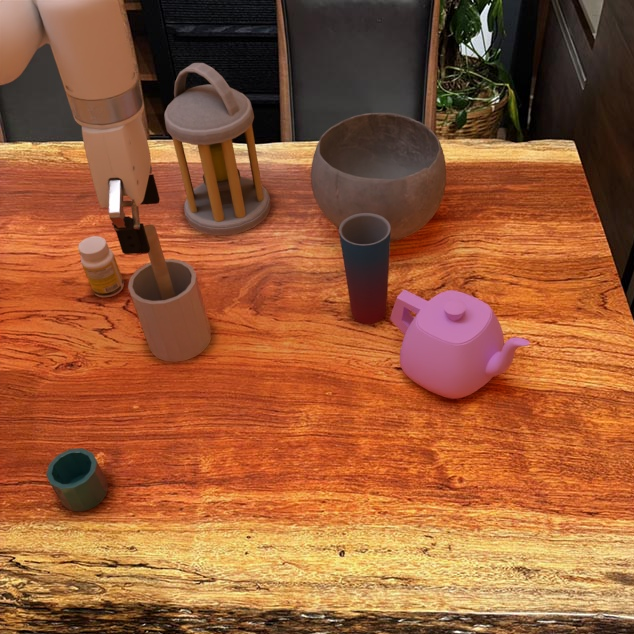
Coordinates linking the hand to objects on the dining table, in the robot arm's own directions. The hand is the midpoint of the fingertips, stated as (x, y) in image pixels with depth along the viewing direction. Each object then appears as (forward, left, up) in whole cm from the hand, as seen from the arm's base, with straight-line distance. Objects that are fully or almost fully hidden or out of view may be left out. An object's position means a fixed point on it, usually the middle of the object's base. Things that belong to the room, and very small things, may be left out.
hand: (142, 226), depth 99 cm
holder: (-9, -25, -20) cm, 33 cm away
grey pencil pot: (0, 0, -20) cm, 20 cm away
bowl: (+30, +23, -20) cm, 43 cm away
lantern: (+5, +30, -20) cm, 36 cm away
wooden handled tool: (+1, 0, -19) cm, 19 cm away
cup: (+27, +3, -20) cm, 34 cm away
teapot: (+38, -9, -20) cm, 44 cm away
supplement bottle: (-12, +12, -20) cm, 26 cm away
